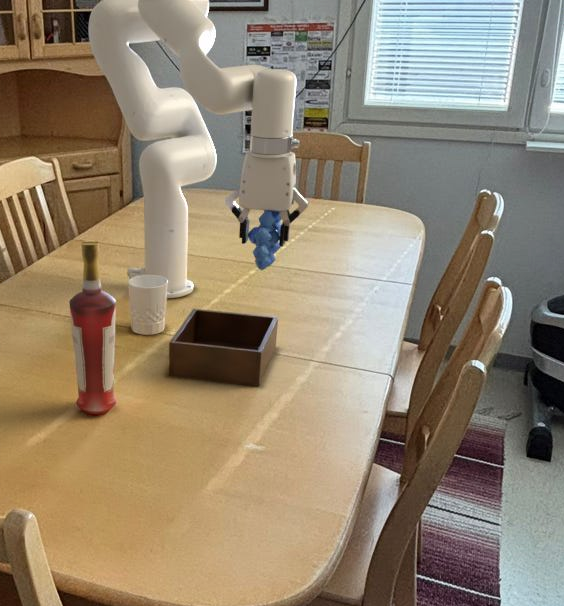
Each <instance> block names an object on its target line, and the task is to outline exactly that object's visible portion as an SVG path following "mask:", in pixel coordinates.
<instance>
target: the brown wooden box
mask: <svg viewBox="0 0 564 606" xmlns="http://www.w3.org/2000/svg"><path fill="white" fill-rule="evenodd" d="M278 325H279V316H273V315H264V314H263V315H262V314H252V313H241V312H231V311H230V312H229V311H221V310H211V309H201V308H200V309H199V308H193V309H192V310H191V311H190V313H189V314H188V315H187V317H186V319H184V321H183V322H182V324H181V325H180V327H179V328H177V331H176V332H175V333H174V335H173V336H172V338H171V339H170V340H169V342H168V376H169V377H175V378H184V379H192V380H200V381H201V380H203V381H209V382H217V383H227V384H233V385H242V386H243V385H244V386H250V387H260V385H261V382H262V380H263V379H264V376H265V374H266V371H267V369H268V367H269V364H270V363H271V360H272V358H273V355H274V353H275V351H276V350H277V349H276V348H277V336H278V327H279V326H278Z"/></svg>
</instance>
